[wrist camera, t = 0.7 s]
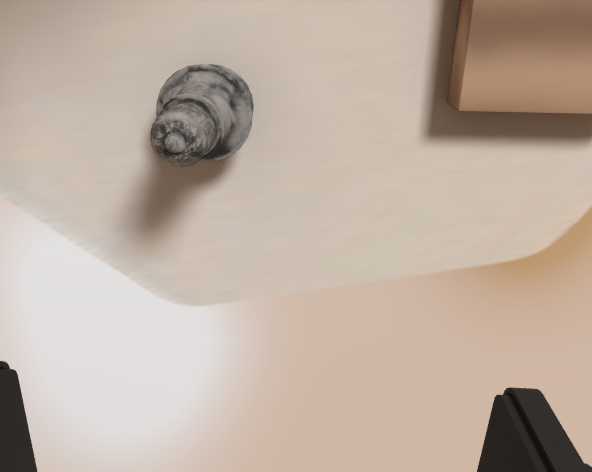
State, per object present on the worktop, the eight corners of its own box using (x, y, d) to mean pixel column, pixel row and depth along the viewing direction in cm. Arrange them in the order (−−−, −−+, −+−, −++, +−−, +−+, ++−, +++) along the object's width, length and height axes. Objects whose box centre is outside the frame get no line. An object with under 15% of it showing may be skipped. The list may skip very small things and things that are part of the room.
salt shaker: (209, 39, 34) (159, 52, 23) (276, 105, 36) (259, 146, 24) (152, 106, 36) (81, 148, 25) (218, 165, 37) (178, 230, 26)
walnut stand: (471, -90, 31) (487, -100, 28) (663, -88, 31) (698, -98, 28) (447, 102, 35) (458, 110, 32) (615, 106, 35) (641, 114, 32)
